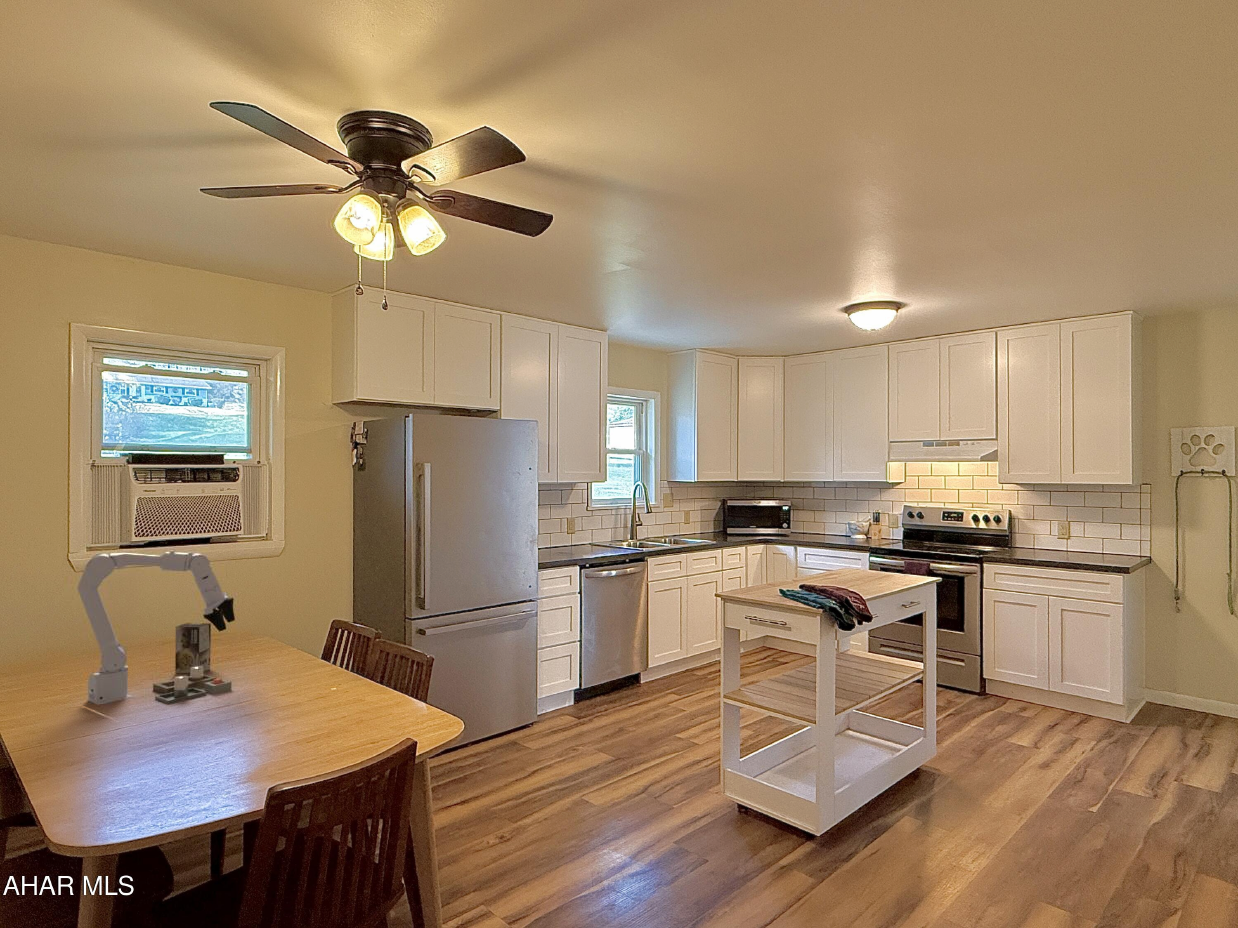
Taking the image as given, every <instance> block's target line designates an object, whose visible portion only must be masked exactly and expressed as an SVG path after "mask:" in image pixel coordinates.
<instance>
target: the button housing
mask: <svg viewBox="0 0 1238 928" xmlns="http://www.w3.org/2000/svg"><path fill="white" fill-rule="evenodd" d="M221 679H222V683H220V684H214V681H211V682H207V683H204V687H203V691H205V692H206V693H208V694H211V695H217V694H220V693H221V694H222V693H224V692H228V691H232V686H233V685H232V681H230V680H226V679H224V678H221Z"/></svg>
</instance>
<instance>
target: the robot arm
mask: <svg viewBox="0 0 1238 928" xmlns="http://www.w3.org/2000/svg"><path fill="white" fill-rule="evenodd" d="M210 564H211V563H210V560H209V559H208V557H207V556H205V555H204V554H202V553H199V552H194V553H193V552H191V551H188V552H187V553H186V552H176V551H175V550H169V551H165V552H163V553H162V554H161V555H153V554H144V553H143V554H142V553H130V552H110V554H108V553H104V552H103V553H98V554H95V555H94V556H93V557H91V559H90V560H89V561H88V562H87V563H86V565H85V566H84V567H85V568H83V569H84V570H83V572H82V574H81V577H80V580H79V582H78V585H77V591H78V593H79V597H80V600H81V602H82V604H83V607H84V609H85V612H86V615H87V617H88V621H89V623H90V625H91V628H92V630H93V634H94V636H95V638H96V641H97V643H98V647H99V650H100V653H101V654H100V655H101V659H100V660H101V661H100V665H101V667H99V669H98V672H95V673H92V674H90V675H89V676H88V681H87V687H88V688H87V699H86V701H88V702H90V703H93V704H95V705H103V704H107V703H112V702H117V701H121V700H127V699H130V698H133V697H134V696H133V695H131V694H128V684H129V683H128V682H129V681H128V678H129V677H128V675H129V674H128V673H129V666H128V665H126V664H127V651H126V649H125V647H123V646H122V645H121V644H120V643H119V641H118V638H117V637H116V636H117V635H116V634H115V631H114V628H113V626H112V623H111V621H110V618H109V614H108V612H107V610H106V607H105V604H104V602H103V600H102V597H101V593H100V591H99V587H100V585H101V584H102V583H103V582H104V579H106V578H108V577H109V576H110V575H111V574H112V573H113V572H114V571H115V568H117V570H120V569H121V570H122V569H123V568H126V567H127V566H148V567H149V566H151V567H155V566H156V567H157V566H158V567H159V568H160V569H161V570H162V571H168V572H169V571H170V572H171V571H172V572H188V571H191V573H192V575H193V577H194V582H195V584H196V586H197V588H198V590H199V592H200V594H201V597H202V599H203V601H204V602H205V607H204V609H203V611H204V614H203V615H202V616H203V618H204V619H205V620H207V621H209V623H211V625H213V626H214V627H215V628H216V629H217V630H218V632H219V633H220V632H223V631H226V630H227V625H226V622H227V623H231V622H235V621H236V619H235V612H234V611H235V610H234V598H233V597H230V596H229V594H228V592H223V589H222V588H221V587H222V586H220V583H219V581H218V578H217V577H216V574H215V572H214V571H213V569H212V567H211V565H210ZM224 619H225V620H226V622H225V620H224Z"/></svg>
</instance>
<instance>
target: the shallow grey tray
mask: <svg viewBox="0 0 1238 928" xmlns="http://www.w3.org/2000/svg"><path fill="white" fill-rule="evenodd" d="M204 696H207V692H205V691H204V690H203V689H202V690H201V689H200V688H198V689H196V688H189V689H188V696H184V697H180V698H176V699H174V692H171V693H166V694H162V693H161V694H158V695H155V696H154V699H155V701H158V702H161V703H164V704H167V705H171V704H175V703H180V702H183V701H188V700H192V699H196V698H200V697H204Z"/></svg>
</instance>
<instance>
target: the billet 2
mask: <svg viewBox="0 0 1238 928" xmlns="http://www.w3.org/2000/svg"><path fill="white" fill-rule="evenodd" d="M189 674H190V675H189V676H190V681H191V682H193V681H198V680H202V679H203V674H204V672H203V666H195V667H192V668H191V673H189Z"/></svg>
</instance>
